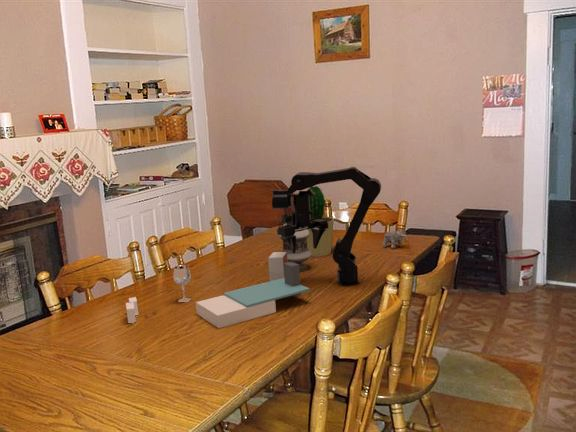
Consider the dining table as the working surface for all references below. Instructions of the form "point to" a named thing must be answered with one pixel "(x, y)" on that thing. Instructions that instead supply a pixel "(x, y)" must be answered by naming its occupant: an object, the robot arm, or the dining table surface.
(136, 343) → the dining table surface
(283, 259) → the small box
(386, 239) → the gray elephant figurine
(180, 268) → the wineglass
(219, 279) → the dining table surface
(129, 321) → the napkin holder
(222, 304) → the carton
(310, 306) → the dining table surface
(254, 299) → the lid
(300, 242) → the apothecary jar
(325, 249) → the potted cactus
